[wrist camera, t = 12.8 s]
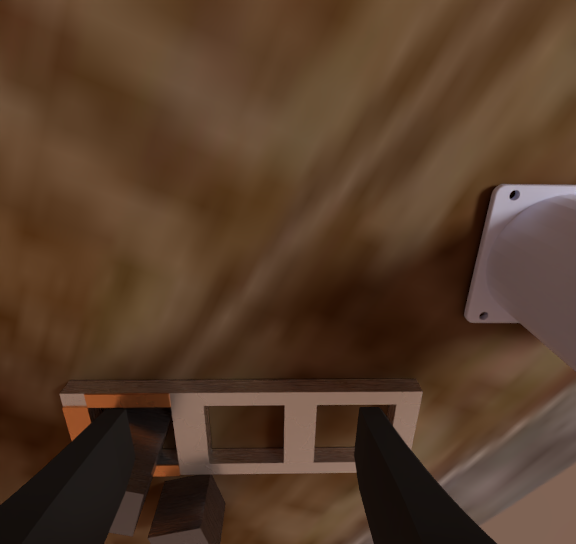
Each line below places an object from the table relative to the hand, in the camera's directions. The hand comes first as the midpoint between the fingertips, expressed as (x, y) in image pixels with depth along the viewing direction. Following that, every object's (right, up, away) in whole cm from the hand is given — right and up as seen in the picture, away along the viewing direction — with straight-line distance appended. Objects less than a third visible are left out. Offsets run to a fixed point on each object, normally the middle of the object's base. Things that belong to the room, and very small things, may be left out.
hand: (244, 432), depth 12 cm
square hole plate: (-1, -5, +13) cm, 14 cm away
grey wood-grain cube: (-6, -11, +16) cm, 21 cm away
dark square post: (-8, -5, +13) cm, 17 cm away
